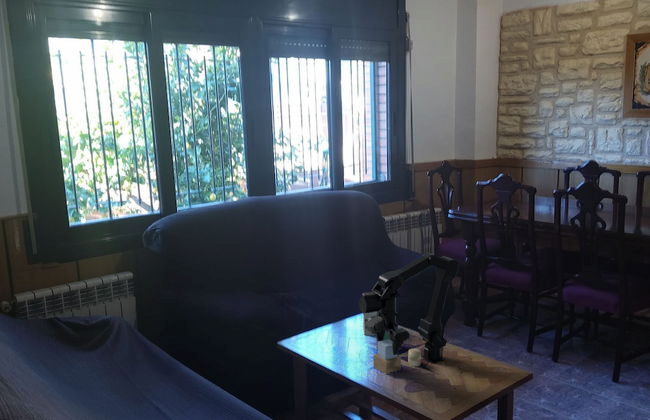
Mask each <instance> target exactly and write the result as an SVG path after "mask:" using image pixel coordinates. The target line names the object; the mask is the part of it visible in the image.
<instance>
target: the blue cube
mask: <svg viewBox="0 0 650 420" xmlns="http://www.w3.org/2000/svg"><path fill="white" fill-rule="evenodd" d="M377 354H378V355H379V356H380V357H382V358H383V359H385V360H387V359H391V358H395V357H397V355H398V353H397V354H396V355H393V347H392V341H391V340H390V339H388V340H383V341H379V342H378V348H377Z"/></svg>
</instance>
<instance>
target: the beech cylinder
mask: <svg viewBox="0 0 650 420" xmlns="http://www.w3.org/2000/svg"><path fill="white" fill-rule="evenodd" d="M407 355H408V356H407V357H408V358H407V359H408V361H407V362H408V363H407V364H408V365H409V366H410V367H420V366H421V364H422V350H421V349H419V348H410V349H408V354H407Z"/></svg>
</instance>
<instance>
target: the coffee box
mask: <svg viewBox="0 0 650 420" xmlns="http://www.w3.org/2000/svg"><path fill="white" fill-rule="evenodd" d="M369 293H373V292H372V291H369V292H363V293H362V294H369ZM377 312H378V311H377ZM377 312H371V313H365V314H363V313H362V314H363V315H362V316H363V317H362V319H363V323H362V325H363V335H364V336H376V335H375V334H372V333H371V332H369V331H368V330H367V327H366V324H365V323H366V322H367V320H368V318H369V317H373V316H377Z"/></svg>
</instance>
